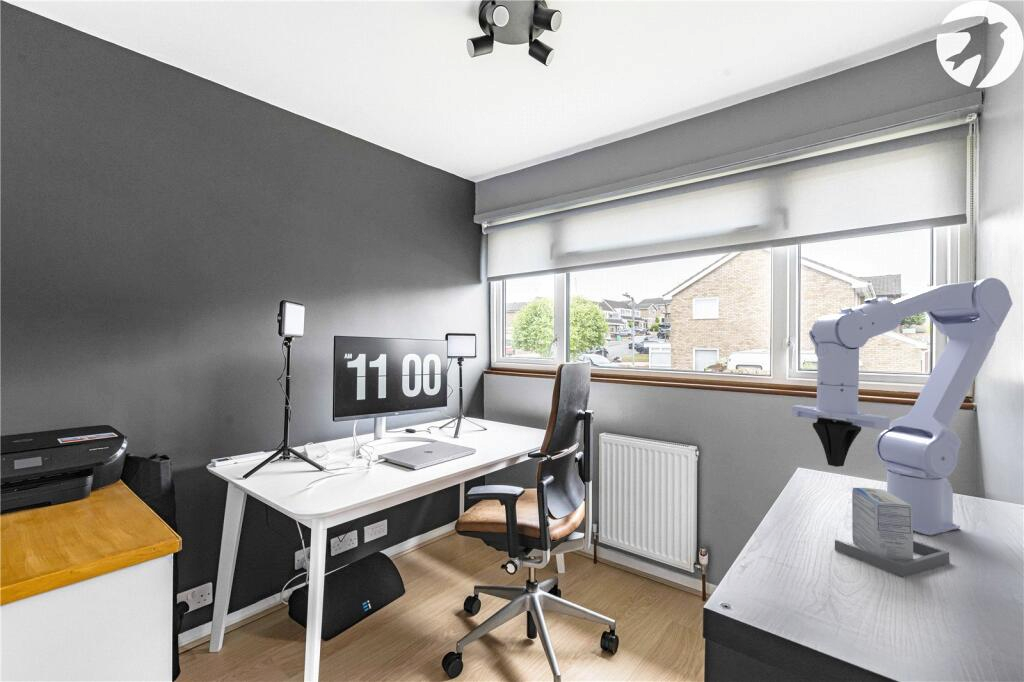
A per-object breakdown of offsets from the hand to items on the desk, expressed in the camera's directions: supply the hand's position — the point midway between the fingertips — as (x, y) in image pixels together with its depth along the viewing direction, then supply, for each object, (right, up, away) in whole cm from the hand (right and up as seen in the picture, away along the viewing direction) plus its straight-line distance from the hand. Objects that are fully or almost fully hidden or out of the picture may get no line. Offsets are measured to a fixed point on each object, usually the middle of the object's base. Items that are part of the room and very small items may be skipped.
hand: (835, 465), depth 76 cm
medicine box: (-1, -11, -10) cm, 15 cm away
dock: (0, -10, -10) cm, 14 cm away
